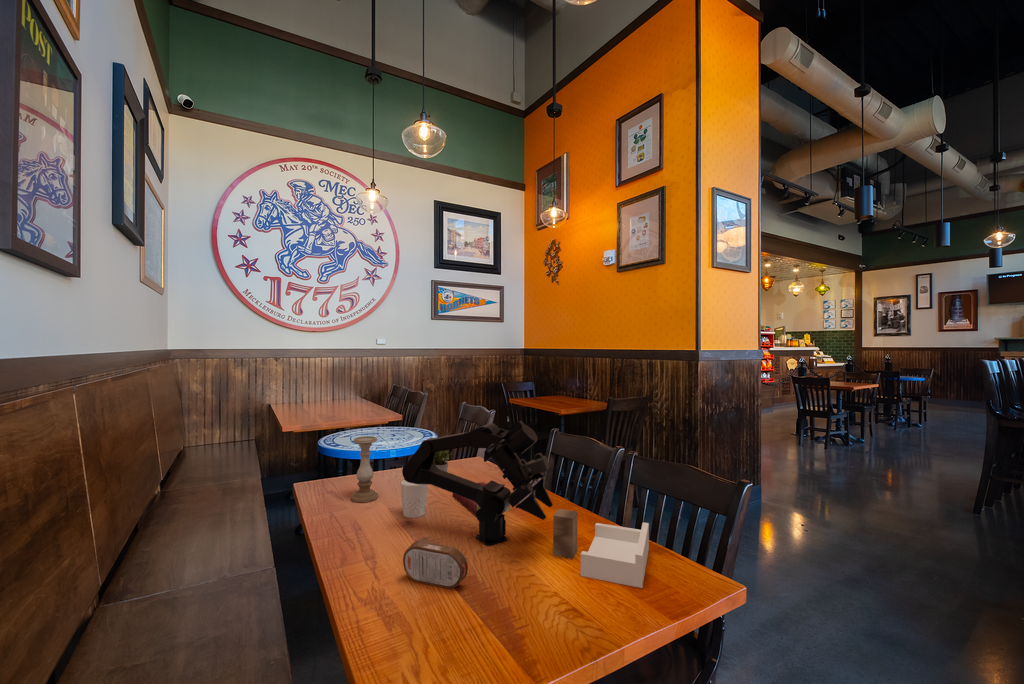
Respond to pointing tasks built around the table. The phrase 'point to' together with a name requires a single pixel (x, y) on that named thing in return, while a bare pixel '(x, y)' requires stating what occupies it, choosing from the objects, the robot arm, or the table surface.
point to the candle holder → (364, 472)
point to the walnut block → (565, 533)
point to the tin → (435, 564)
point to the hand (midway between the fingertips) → (548, 512)
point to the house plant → (441, 460)
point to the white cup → (413, 499)
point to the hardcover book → (471, 502)
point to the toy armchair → (617, 555)
